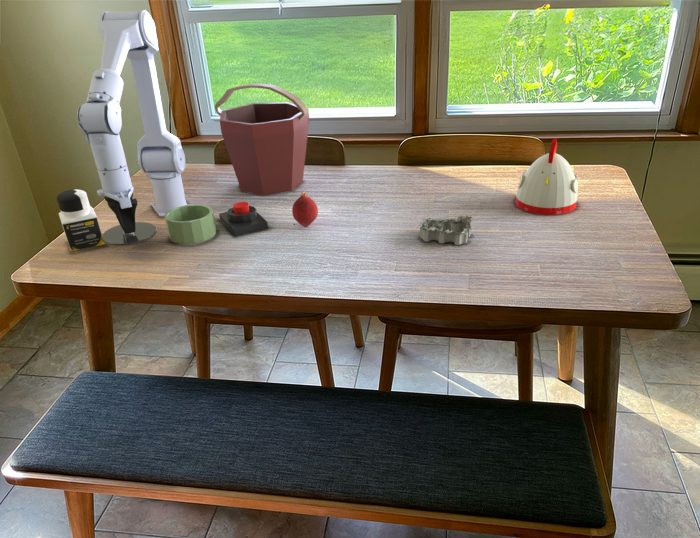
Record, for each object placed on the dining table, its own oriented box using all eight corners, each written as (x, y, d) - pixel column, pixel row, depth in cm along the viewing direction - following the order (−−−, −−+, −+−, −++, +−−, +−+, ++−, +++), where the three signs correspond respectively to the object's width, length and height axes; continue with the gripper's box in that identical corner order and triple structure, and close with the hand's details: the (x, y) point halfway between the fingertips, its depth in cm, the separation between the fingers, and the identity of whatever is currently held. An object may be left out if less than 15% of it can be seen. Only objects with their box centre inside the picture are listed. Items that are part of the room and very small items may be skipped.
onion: (315, 232, 138) (312, 197, 133) (290, 231, 139) (287, 196, 135) (321, 221, 143) (319, 188, 138) (297, 220, 144) (294, 187, 139)
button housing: (219, 220, 146) (217, 206, 144) (251, 213, 149) (249, 199, 147) (234, 236, 138) (232, 222, 136) (268, 228, 141) (266, 214, 139)
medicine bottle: (71, 253, 134) (54, 200, 127) (67, 242, 139) (51, 190, 132) (105, 246, 136) (90, 193, 129) (100, 235, 142) (85, 184, 135)
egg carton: (473, 233, 134) (474, 216, 132) (464, 247, 128) (465, 229, 126) (426, 227, 138) (427, 210, 135) (415, 240, 132) (416, 222, 130)
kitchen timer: (510, 211, 143) (518, 146, 135) (520, 191, 154) (527, 129, 145) (573, 217, 139) (584, 150, 130) (578, 196, 149) (589, 133, 141)
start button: (231, 211, 142) (230, 203, 141) (246, 207, 143) (245, 200, 142) (236, 216, 139) (235, 208, 138) (251, 212, 141) (250, 205, 140)
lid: (99, 234, 133) (93, 213, 130) (151, 222, 137) (146, 202, 134) (108, 253, 124) (101, 231, 122) (163, 240, 128) (158, 219, 126)
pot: (165, 233, 141) (159, 210, 138) (208, 223, 145) (204, 201, 141) (176, 249, 133) (171, 226, 130) (222, 239, 137) (218, 215, 134)
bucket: (209, 189, 164) (192, 90, 150) (261, 165, 179) (249, 72, 165) (283, 204, 153) (271, 98, 139) (331, 177, 168) (325, 79, 154)
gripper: (85, 160, 126) (103, 222, 133) (96, 180, 115) (115, 246, 123) (120, 154, 128) (136, 215, 136) (134, 173, 118) (150, 238, 125)
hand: (128, 230), depth 130 cm, fingers closed on lid, 2 cm apart
